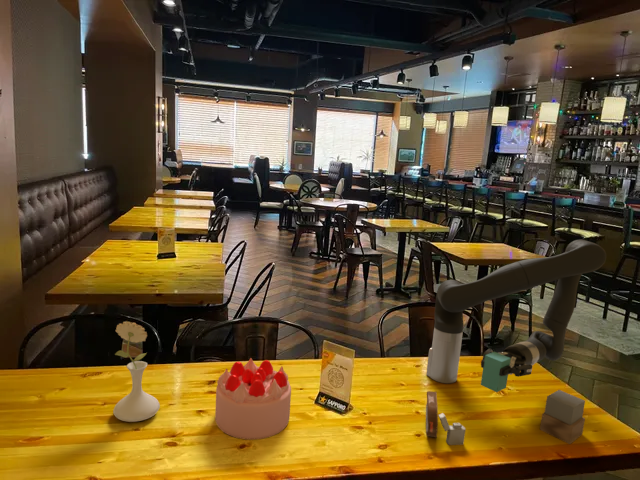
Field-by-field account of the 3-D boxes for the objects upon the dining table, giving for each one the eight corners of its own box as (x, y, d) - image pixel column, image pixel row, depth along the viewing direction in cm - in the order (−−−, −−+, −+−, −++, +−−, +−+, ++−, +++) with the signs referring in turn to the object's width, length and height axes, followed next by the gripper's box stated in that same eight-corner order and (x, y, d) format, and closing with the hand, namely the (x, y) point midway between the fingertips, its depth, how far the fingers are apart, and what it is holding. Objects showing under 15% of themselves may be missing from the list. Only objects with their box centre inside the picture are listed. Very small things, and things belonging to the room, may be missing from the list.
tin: (436, 444, 118) (440, 413, 117) (424, 441, 119) (427, 411, 117) (434, 413, 133) (438, 386, 131) (423, 412, 133) (426, 384, 132)
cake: (217, 444, 112) (219, 390, 109) (213, 402, 131) (214, 354, 128) (296, 436, 117) (299, 384, 115) (281, 397, 136) (284, 351, 134)
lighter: (460, 440, 121) (464, 412, 119) (463, 444, 119) (467, 416, 117) (434, 440, 120) (438, 412, 118) (437, 445, 118) (440, 416, 116)
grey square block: (544, 413, 128) (547, 396, 127) (556, 406, 132) (559, 389, 131) (570, 425, 123) (573, 407, 122) (582, 417, 127) (585, 400, 126)
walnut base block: (539, 430, 128) (542, 413, 128) (552, 421, 134) (555, 405, 133) (569, 444, 122) (572, 427, 122) (582, 434, 127) (585, 418, 127)
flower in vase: (168, 410, 125) (170, 322, 121) (136, 431, 115) (136, 335, 110) (133, 397, 130) (133, 312, 126) (98, 416, 120) (97, 324, 116)
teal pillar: (480, 384, 132) (485, 355, 130) (489, 380, 135) (494, 351, 134) (496, 392, 128) (501, 361, 127) (505, 387, 132) (510, 358, 130)
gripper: (500, 336, 145) (470, 346, 134) (546, 353, 134) (518, 366, 123) (497, 358, 146) (467, 370, 135) (542, 377, 135) (513, 392, 124)
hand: (491, 368), depth 129 cm, fingers closed on teal pillar, 5 cm apart
